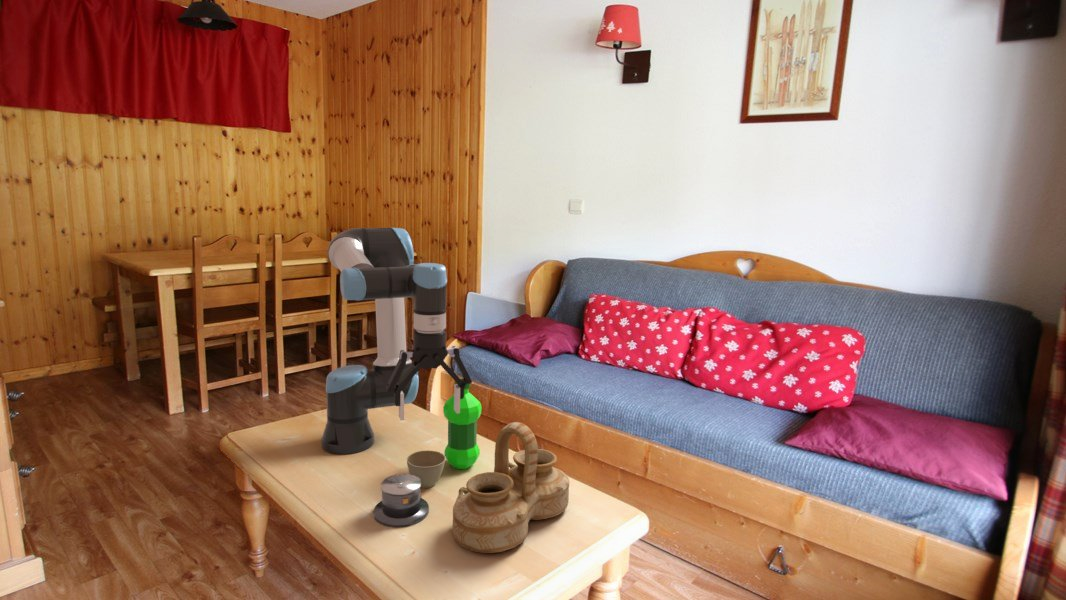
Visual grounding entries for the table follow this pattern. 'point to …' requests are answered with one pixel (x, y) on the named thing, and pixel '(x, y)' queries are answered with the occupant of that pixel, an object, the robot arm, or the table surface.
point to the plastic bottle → (462, 430)
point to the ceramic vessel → (509, 495)
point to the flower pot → (426, 466)
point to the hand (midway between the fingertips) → (429, 414)
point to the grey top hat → (401, 502)
